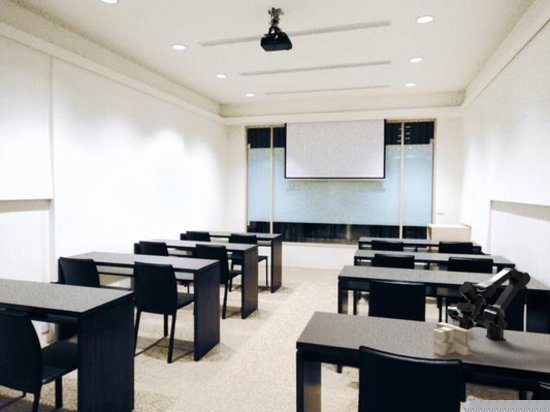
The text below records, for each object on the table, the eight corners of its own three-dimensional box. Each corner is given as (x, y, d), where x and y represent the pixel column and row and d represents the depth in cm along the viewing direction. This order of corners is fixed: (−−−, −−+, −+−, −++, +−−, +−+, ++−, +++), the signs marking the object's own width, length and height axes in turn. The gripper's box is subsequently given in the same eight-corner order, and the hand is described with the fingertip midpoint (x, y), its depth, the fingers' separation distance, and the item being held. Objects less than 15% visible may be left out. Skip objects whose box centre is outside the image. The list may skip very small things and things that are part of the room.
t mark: (441, 342, 185) (441, 342, 185) (472, 353, 172) (472, 353, 172) (421, 348, 178) (421, 347, 178) (452, 360, 165) (452, 359, 165)
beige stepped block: (441, 342, 184) (442, 322, 184) (469, 352, 172) (469, 330, 172) (423, 348, 178) (424, 326, 177) (451, 359, 166) (451, 335, 165)
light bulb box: (466, 333, 198) (466, 312, 197) (452, 332, 199) (452, 311, 199) (460, 326, 208) (460, 306, 208) (447, 326, 209) (447, 306, 209)
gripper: (448, 292, 190) (434, 318, 185) (486, 300, 174) (471, 329, 169) (458, 305, 194) (444, 331, 189) (495, 314, 178) (482, 343, 173)
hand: (459, 333), depth 180 cm, fingers closed
